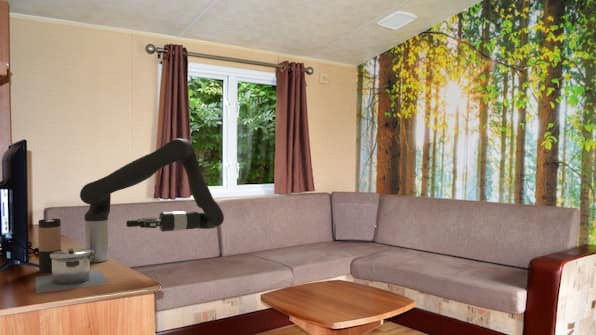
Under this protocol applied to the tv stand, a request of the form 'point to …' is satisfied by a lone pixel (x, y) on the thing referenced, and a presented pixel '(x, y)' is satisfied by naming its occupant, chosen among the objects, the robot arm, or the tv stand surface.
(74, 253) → the lid
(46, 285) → the mat
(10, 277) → the tv stand surface
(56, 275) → the pot
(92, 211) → the robot arm
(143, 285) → the tv stand surface
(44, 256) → the travel mug
